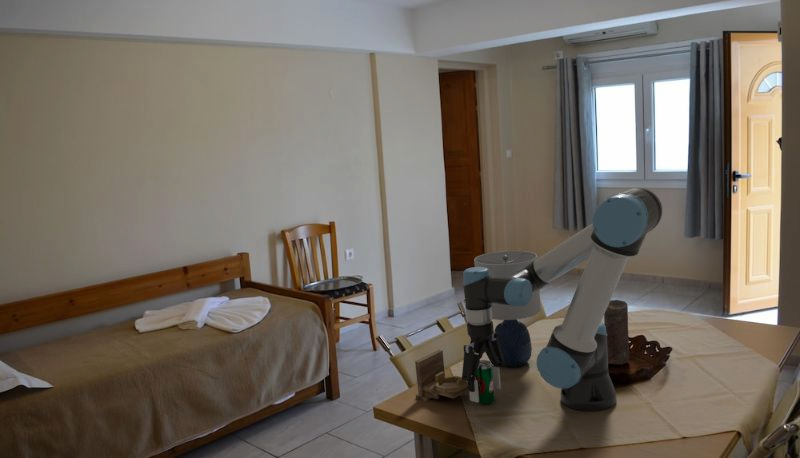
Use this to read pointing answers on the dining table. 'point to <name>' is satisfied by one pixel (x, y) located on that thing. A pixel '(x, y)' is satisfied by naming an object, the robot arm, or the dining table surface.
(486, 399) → the soda can
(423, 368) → the bracket
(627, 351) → the candle
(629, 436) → the dining table surface
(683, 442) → the dining table surface
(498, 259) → the lamp
